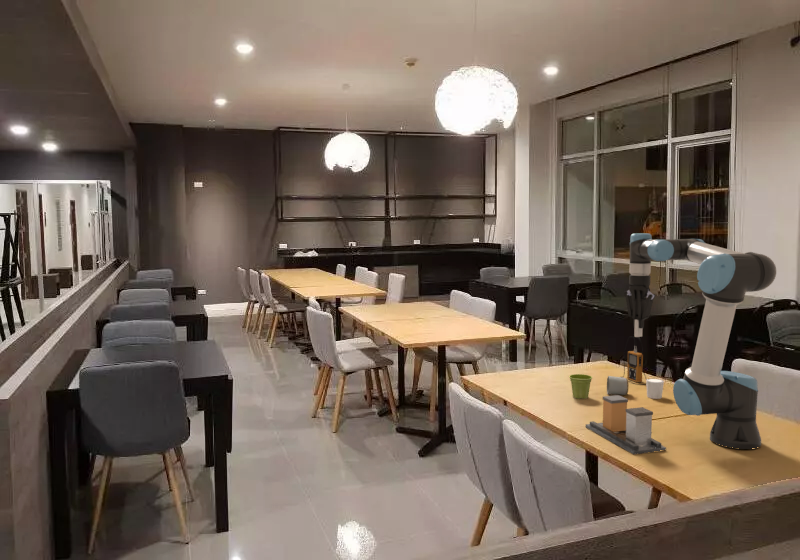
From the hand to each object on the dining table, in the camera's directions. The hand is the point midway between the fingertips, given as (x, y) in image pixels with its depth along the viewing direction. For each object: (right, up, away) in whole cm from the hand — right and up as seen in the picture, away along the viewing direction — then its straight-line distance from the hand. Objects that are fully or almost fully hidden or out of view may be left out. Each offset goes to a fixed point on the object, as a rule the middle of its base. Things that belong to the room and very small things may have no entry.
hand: (638, 336), depth 249 cm
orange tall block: (-16, -30, -22) cm, 41 cm away
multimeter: (+13, -25, +48) cm, 56 cm away
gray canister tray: (-15, -32, -27) cm, 44 cm away
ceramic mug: (+1, -27, +29) cm, 39 cm away
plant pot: (-15, -27, +24) cm, 39 cm away
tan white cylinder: (+15, -27, +23) cm, 39 cm away
